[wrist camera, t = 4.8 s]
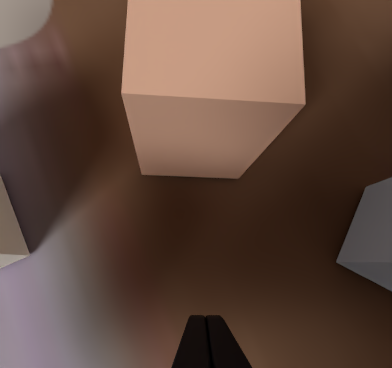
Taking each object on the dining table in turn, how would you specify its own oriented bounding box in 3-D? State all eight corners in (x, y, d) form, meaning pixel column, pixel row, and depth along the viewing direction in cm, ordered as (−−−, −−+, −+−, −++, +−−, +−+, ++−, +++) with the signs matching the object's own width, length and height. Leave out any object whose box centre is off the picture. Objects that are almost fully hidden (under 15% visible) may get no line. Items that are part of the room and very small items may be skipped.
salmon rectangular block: (238, 178, 16) (306, 104, 9) (141, 174, 16) (121, 93, 8) (237, 100, 17) (298, -32, 10) (146, 94, 17) (131, -48, 9)
